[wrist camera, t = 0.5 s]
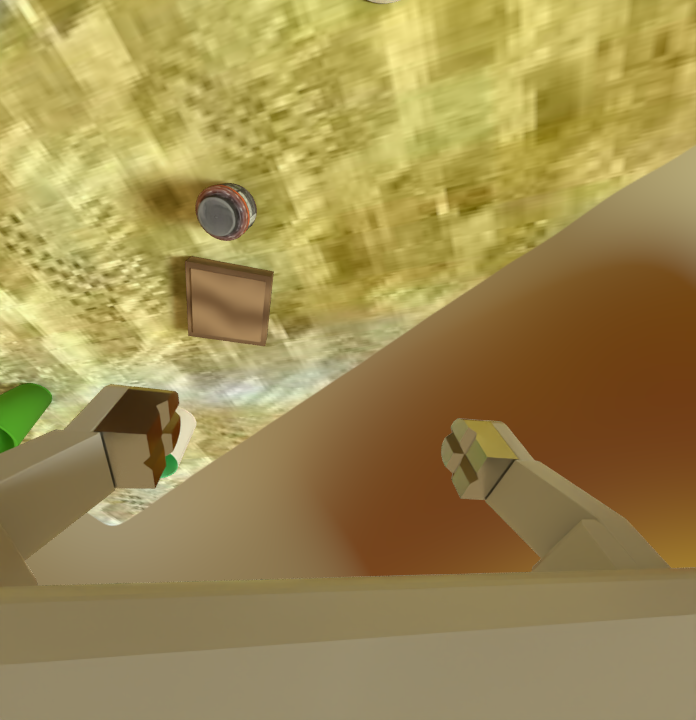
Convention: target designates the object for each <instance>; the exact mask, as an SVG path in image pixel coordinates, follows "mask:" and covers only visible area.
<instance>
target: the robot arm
mask: <svg viewBox="0 0 696 720" xmlns="http://www.w3.org/2000/svg"><path fill="white" fill-rule="evenodd" d="M368 1H371V2H375V3H392V2H396V1H399V0H368ZM178 405H179V397H178V393H177V392H176V391H169V390H160V389H151V388H143V387H131V386H123V385H114V384H110V385H108V386H105V387H104V388H103V389H102V390H101V391H100V392H99V393H98V394H97V395H96V396H95V397H94V398H93V399H92V401H91V402H90V403H89V404H88V405H87V406H86V407H85V408H84V409H83V410H82V411H81V412H80V413H79V414H78V415H77V416H76V417H75V418H74V419H73V420H72V421H71V422H70V424H69V425H68V426H67V427H66V428H65V429H64V430H53V431H51V432H49V433H46V434H44V435H42V436H40V437H37V438H35V439H33V440H30V441H28V442H26V443H23V444H21V445H19V446H16V447H14V448H12V449H10V450H7V451H5V452H3V453H0V720H696V568H671V567H670V566H669V565H668V564H667V563H666V562H665V561H664V560H663V559H662V558H661V557H660V556H659V554H658V553H657V552H656V551H655V550H654V549H653V548H652V547H651V546H650V545H649V543H647V541H646V540H645V539H644V538H643V537H642V536H641V535H640V534H639V533H638V532H637V530H636V529H635V528H634V527H633V526H632V525H631V524H630V523H629V522H628V521H627V520H626V519H625V518H624V517H622V516H621V515H619V514H617V513H616V512H615V511H613V510H612V509H610V508H609V507H607V506H606V505H604V504H602V503H601V502H600V501H598V500H597V499H595V498H593V497H592V496H591V495H589V494H587V493H586V492H584V491H583V490H582V489H580V488H578V487H577V486H575V485H574V484H572V483H571V482H569V481H568V480H566V479H565V478H563V477H562V476H560V475H559V474H557V473H556V472H554V471H553V470H551V469H550V468H548V467H547V466H545V465H543V464H542V463H541V462H539V461H534V459H533V458H532V457H531V456H530V454H529V453H528V452H527V451H526V449H525V448H524V447H523V445H522V444H521V443H520V442H519V441H518V439H517V438H516V437H515V436H514V434H513V433H512V432H511V430H510V429H509V428H508V427H507V426H506V424H504V423H502V422H500V421H483V420H472V419H460V418H458V419H457V420H455V421H454V422H453V424H452V426H451V430H452V433H451V434H450V435H448V436H447V437H445V439H444V442H443V444H442V450H441V455H442V460H443V462H444V464H445V467H446V468H447V469H449V470H450V471H451V472H452V473H453V475H452V481H453V484H454V486H455V488H456V490H457V492H458V494H459V496H460V498H462V499H478V500H479V499H480V500H486V503H488V505H489V506H490V507H491V508H492V509H493V510H495V512H496V513H497V514H498V515H499V516H500V517H501V518H502V519H503V520H504V521H505V522H506V523H507V524H508V525H509V526H510V527H511V528H512V529H513V530H514V531H515V532H516V533H517V534H518V535H519V536H520V537H521V538H522V539H523V540H524V541H525V542H526V543H527V544H528V545H529V546H530V547H531V548H532V549H533V550H534V551H535V553H537V555H538V556H540V557H541V560H540V561H538V563H537V564H535V565H534V566H533V568H532V572H521V573H520V572H519V573H482V574H446V575H444V574H443V575H405V576H369V577H334V578H333V577H332V578H299V579H260V580H226V581H225V580H224V581H192V582H189V581H187V582H151V583H115V584H79V585H45V586H44V585H42V586H38V584H37V580H36V578H35V576H34V575H33V573H32V572H31V570H30V568H29V567H28V565H27V564H26V562H25V560H26V559H28V558H29V557H30V556H31V555H33V554H34V553H35V552H37V551H38V550H39V549H40V548H42V547H43V546H44V545H46V544H47V543H48V542H49V541H51V540H52V539H53V538H55V537H56V536H57V535H58V534H60V533H61V532H62V531H64V530H65V529H66V528H67V527H69V526H70V525H71V524H72V523H74V522H75V521H76V520H77V519H79V518H80V517H81V516H83V515H84V514H85V513H87V512H88V511H89V510H90V509H92V508H93V507H94V506H96V505H97V504H98V503H99V502H101V501H102V500H103V499H105V498H106V497H107V496H108V495H110V494H111V493H112V492H113V491H115V488H151V489H155V488H156V486H157V484H158V482H159V480H160V477H161V475H162V473H163V471H164V469H165V467H166V459H165V457H166V456H167V455H169V454H170V453H172V452H173V451H174V448H175V446H176V444H177V441H178V438H179V434H180V426H181V420H180V416H179V415H178V414H177V413H176V412H175V411H176V409H177V407H178Z"/></svg>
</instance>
